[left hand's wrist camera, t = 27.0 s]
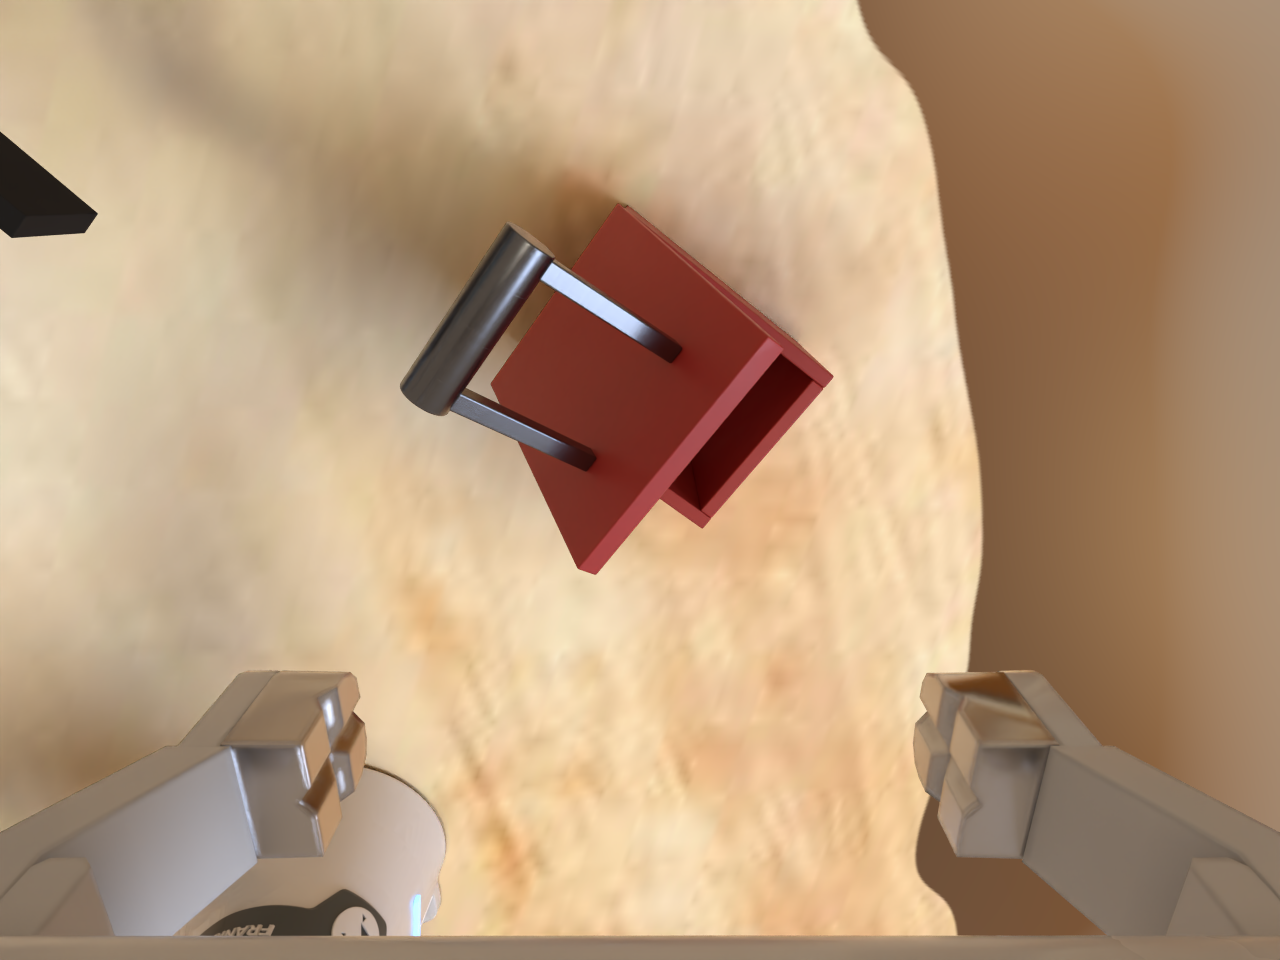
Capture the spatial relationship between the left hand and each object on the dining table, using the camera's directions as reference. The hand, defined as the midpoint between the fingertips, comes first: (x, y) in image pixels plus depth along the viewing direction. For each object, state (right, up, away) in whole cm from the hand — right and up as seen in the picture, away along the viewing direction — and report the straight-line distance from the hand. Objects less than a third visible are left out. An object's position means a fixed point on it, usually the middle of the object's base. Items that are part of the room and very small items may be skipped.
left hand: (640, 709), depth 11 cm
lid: (-1, +7, +19) cm, 20 cm away
